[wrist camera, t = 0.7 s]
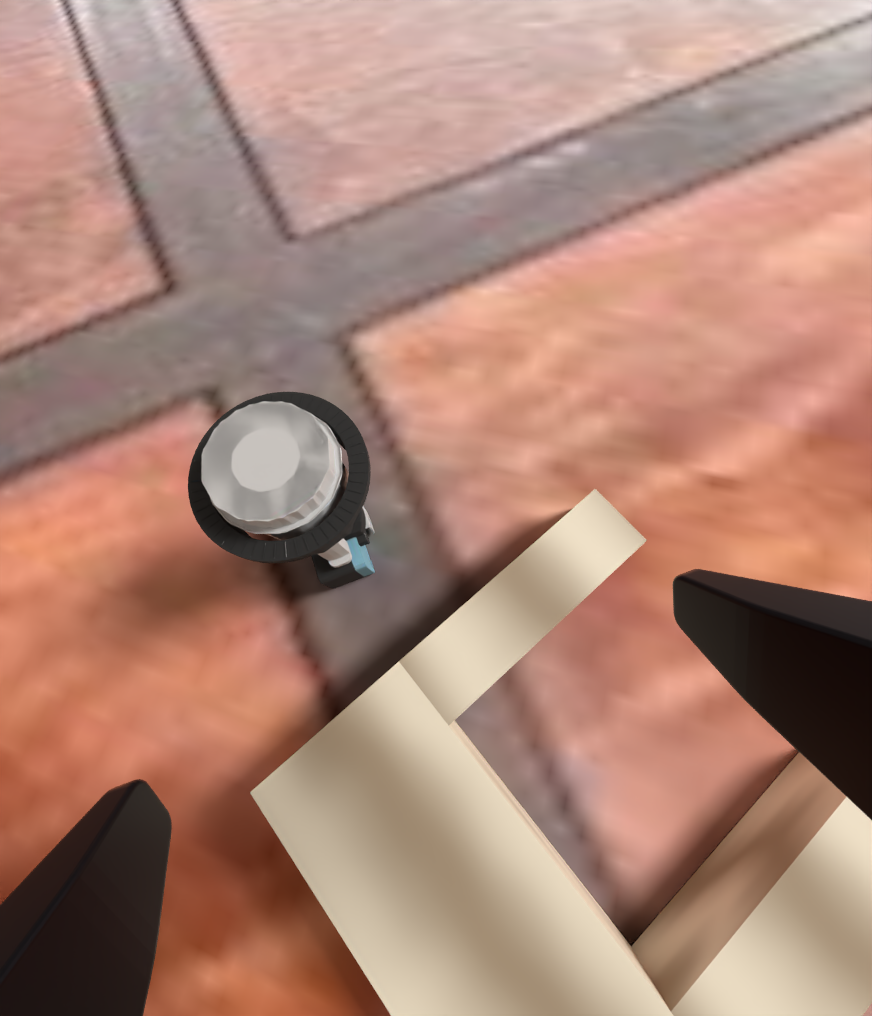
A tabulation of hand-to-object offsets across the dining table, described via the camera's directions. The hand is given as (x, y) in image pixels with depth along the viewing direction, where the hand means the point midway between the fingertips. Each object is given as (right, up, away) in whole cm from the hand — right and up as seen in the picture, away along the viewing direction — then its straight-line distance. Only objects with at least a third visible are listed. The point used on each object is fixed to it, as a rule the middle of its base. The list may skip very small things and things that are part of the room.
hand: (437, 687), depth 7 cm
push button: (-5, +2, +15) cm, 16 cm away
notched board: (+6, -9, +11) cm, 16 cm away
